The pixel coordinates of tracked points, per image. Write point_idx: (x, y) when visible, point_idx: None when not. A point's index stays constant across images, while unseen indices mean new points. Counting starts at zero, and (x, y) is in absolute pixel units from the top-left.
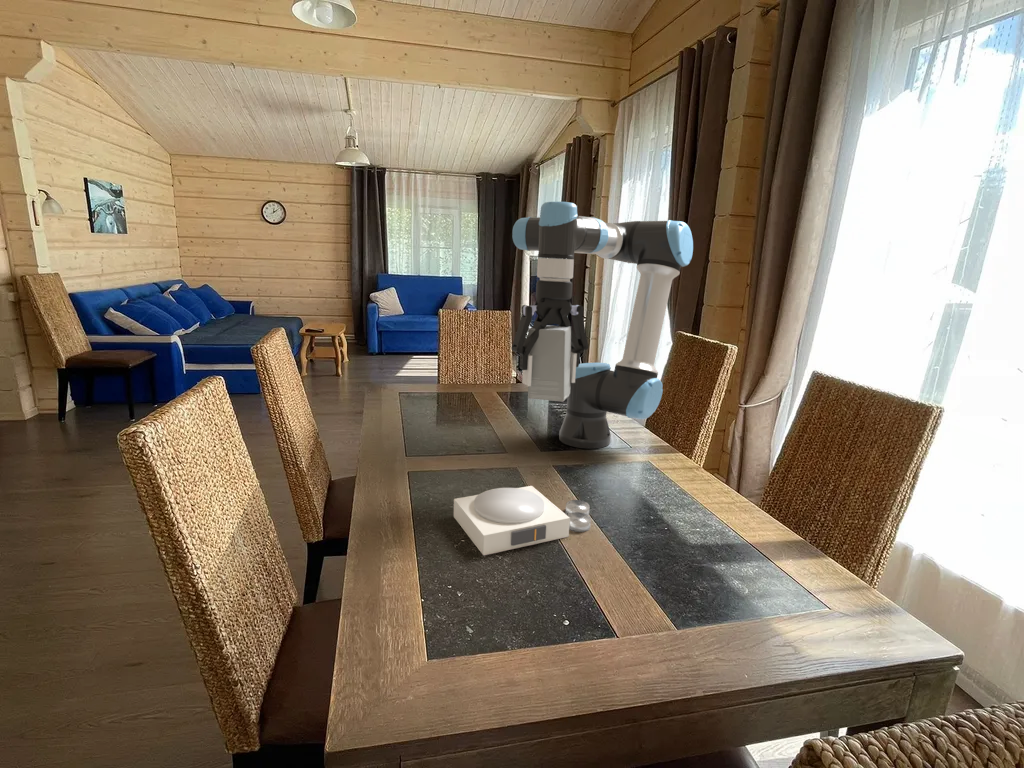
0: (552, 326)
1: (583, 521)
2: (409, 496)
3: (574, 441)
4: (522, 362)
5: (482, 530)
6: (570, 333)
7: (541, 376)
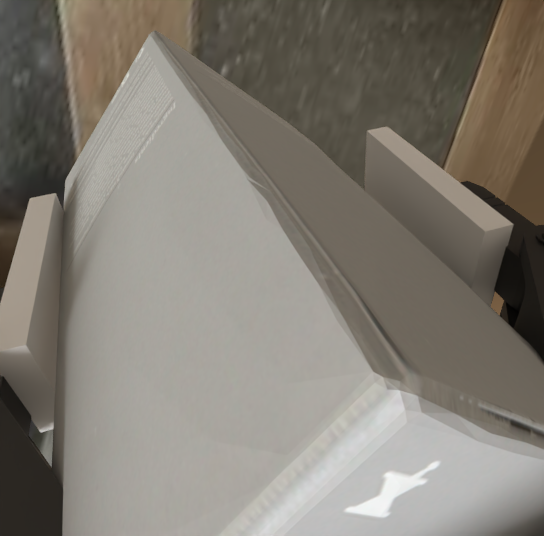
0: None
1: None
2: (470, 96)
3: None
4: (508, 209)
5: None
6: None
7: (324, 157)
